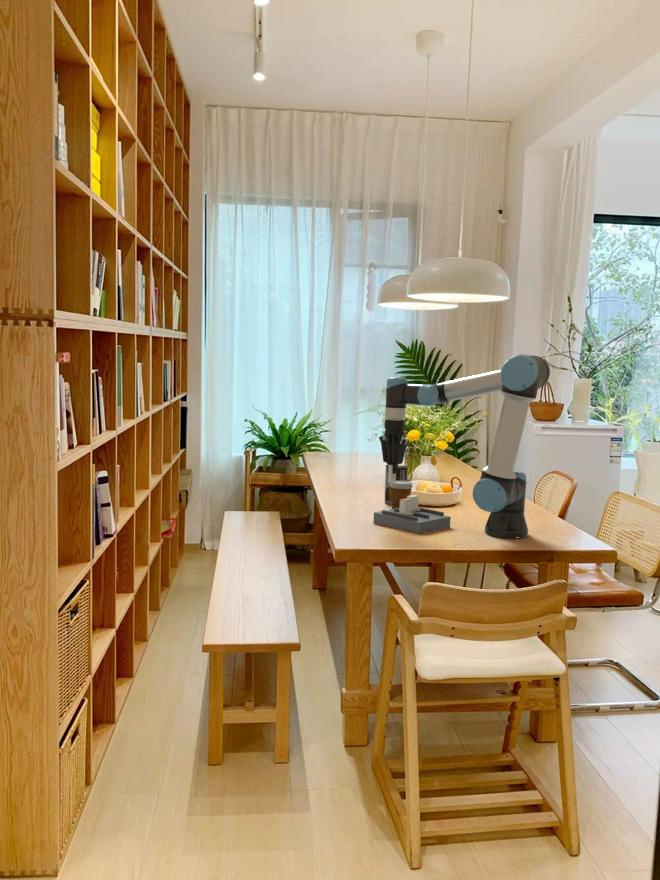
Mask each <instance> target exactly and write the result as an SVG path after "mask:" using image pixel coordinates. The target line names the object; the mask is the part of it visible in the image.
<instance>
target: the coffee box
mask: <svg viewBox="0 0 660 880" xmlns="http://www.w3.org/2000/svg"><path fill="white" fill-rule="evenodd" d="M407 473H408V468H407V465H403V464H402V465H401V464H399V465H398V470H397V474H396V480H401V481H408V480H407V478H408V474H407ZM384 475H385V476H384V479H385V480H384V500H383V501H385V502H384V504H385V503H387V504H386V505H392V501H391V488H390V485H389V484H390V482H388V473H387V464H386V465H385V473H384Z"/></svg>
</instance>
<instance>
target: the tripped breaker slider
mask: <svg viewBox="0 0 660 880" xmlns="http://www.w3.org/2000/svg"><path fill="white" fill-rule="evenodd" d="M411 508H412V499H407V498H406V499H400V509H399V513H401V514H405V515H410V516H412V515H414V513H411Z"/></svg>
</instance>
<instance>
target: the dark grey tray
mask: <svg viewBox="0 0 660 880" xmlns="http://www.w3.org/2000/svg"><path fill="white" fill-rule="evenodd" d="M419 498H420V497H419V495H415V494H412V495H410V496H407V499H412V508H411V513H414V515H412V516H410V515H405V514H401V513H399V509H400V508H394V509H392V508H391V509H387V510H386V509H382V510H380V511H375V512H374V511H373V522H372V523H373V524H376V525H377V524H378V525H381V526H386V527H390V528H394V529H398V530H401V529H402V531H407V532H410V531H411V533H414V532H415V534H420V533H421V534H425V532H426V533H430V532H435V531H438V530H444V529H449V528H451V516H448V515H444V514H445V512H443V511H439V510H436V509H435V510H434V509H429V508H425V507H421V506H419V500H420V499H419ZM434 530H435V531H434Z"/></svg>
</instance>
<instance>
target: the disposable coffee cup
mask: <svg viewBox="0 0 660 880" xmlns="http://www.w3.org/2000/svg"><path fill="white" fill-rule="evenodd" d="M389 485H390V488H391V501H392V504H391V509H394V508H400V499H406V498H407V496H411V494H412V488H413V487H414V485H413V483H412V482H411V481H409V480H407V481H401V480H396V482H392V483H390V484H389Z"/></svg>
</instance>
